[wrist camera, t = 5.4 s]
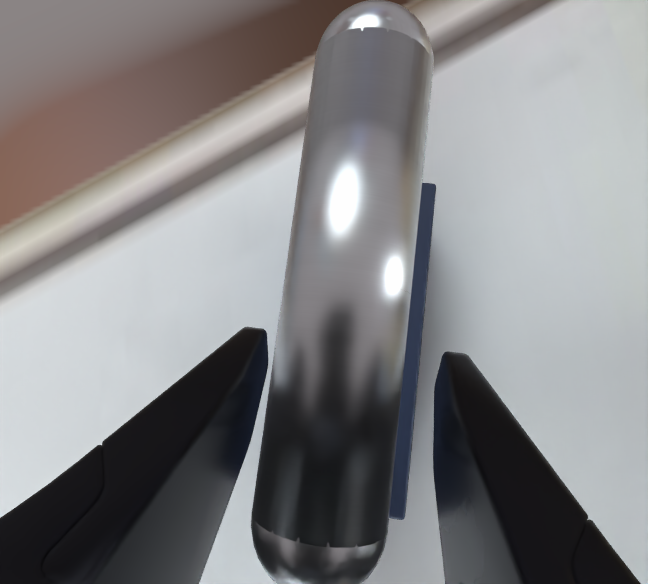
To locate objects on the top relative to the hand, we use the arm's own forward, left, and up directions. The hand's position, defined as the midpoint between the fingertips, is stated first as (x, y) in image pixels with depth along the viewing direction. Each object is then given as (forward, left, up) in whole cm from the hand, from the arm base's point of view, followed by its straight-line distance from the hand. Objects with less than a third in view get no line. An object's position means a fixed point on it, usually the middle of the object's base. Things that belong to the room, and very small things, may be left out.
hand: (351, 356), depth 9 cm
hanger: (+1, 0, -7) cm, 7 cm away
